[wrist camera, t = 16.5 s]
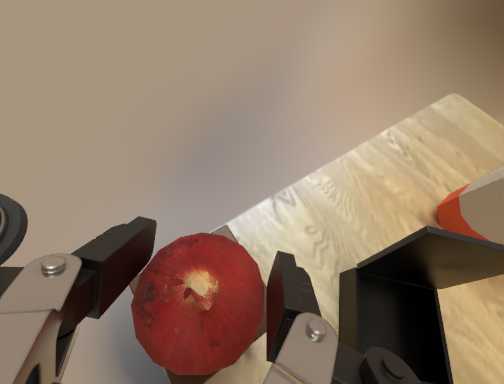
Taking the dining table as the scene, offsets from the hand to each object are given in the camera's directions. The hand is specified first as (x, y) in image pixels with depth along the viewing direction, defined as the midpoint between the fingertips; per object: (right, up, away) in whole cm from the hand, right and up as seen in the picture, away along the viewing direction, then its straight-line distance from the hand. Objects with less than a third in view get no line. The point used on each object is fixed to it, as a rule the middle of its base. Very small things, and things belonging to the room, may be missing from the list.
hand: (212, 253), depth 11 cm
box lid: (+21, -5, +14) cm, 26 cm away
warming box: (+19, -15, +21) cm, 32 cm away
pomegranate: (-1, -4, +3) cm, 5 cm away
